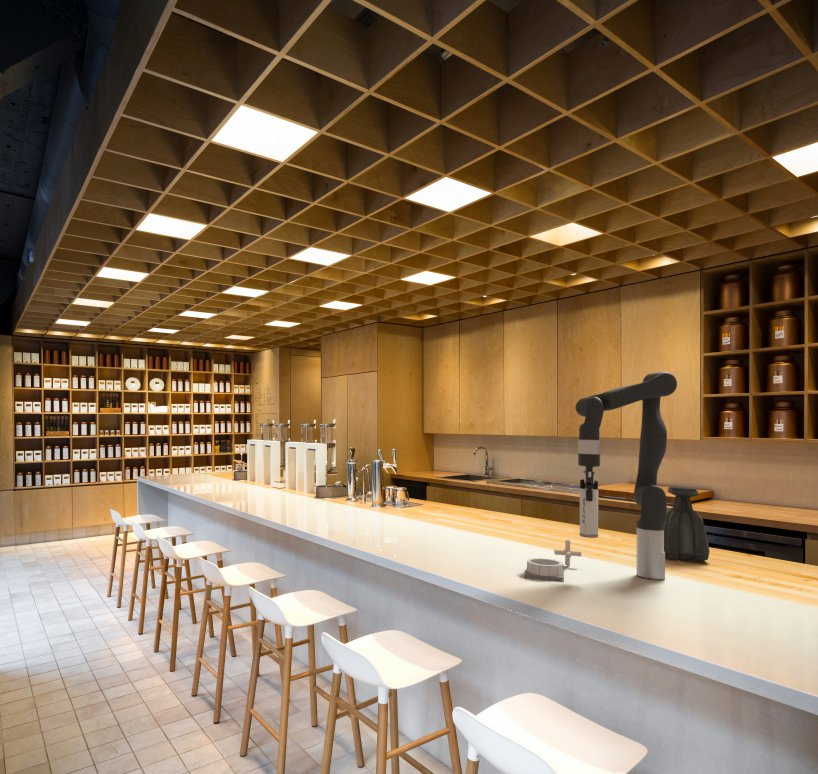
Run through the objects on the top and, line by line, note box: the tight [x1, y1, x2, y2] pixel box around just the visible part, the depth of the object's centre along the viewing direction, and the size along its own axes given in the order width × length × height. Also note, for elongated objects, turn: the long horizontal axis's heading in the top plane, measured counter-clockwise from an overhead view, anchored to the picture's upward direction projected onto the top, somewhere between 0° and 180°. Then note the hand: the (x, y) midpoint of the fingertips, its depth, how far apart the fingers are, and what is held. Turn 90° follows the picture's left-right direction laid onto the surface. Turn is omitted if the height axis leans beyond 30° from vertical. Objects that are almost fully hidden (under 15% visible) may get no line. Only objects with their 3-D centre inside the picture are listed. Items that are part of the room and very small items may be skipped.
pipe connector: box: [553, 539, 582, 567], centre depth 223 cm, size 10×10×10 cm
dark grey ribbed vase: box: [664, 486, 710, 563], centre depth 249 cm, size 18×16×30 cm
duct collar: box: [524, 557, 565, 582], centre depth 207 cm, size 13×13×5 cm
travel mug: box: [579, 478, 599, 539], centre depth 205 cm, size 6×7×20 cm
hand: (588, 500), depth 205 cm, fingers closed on travel mug, 6 cm apart
